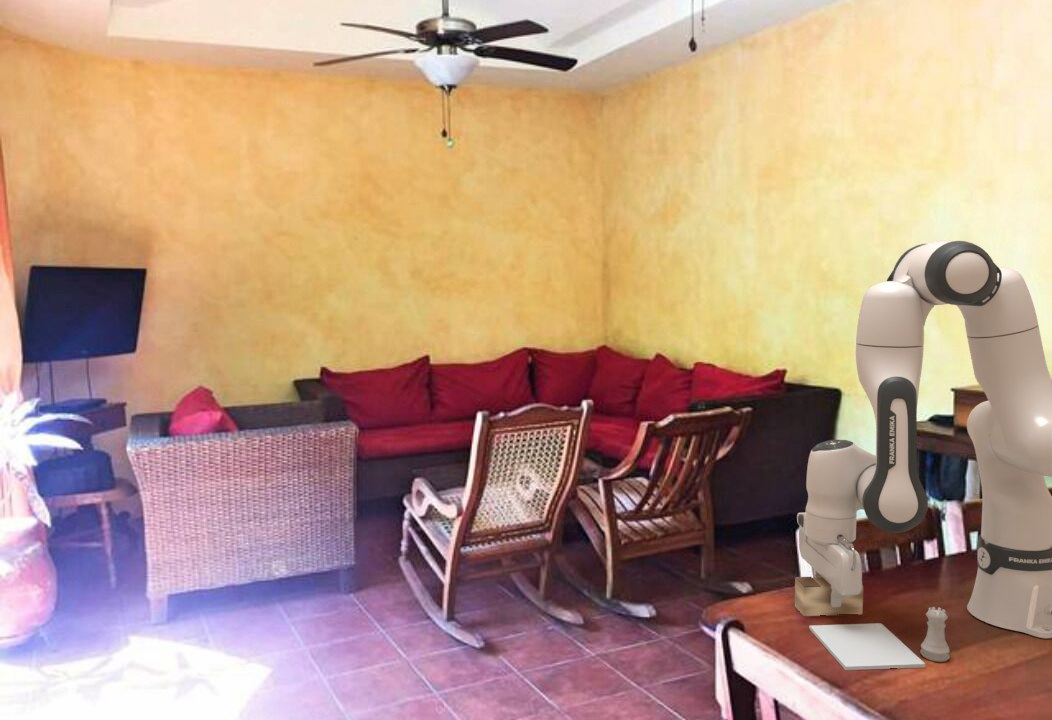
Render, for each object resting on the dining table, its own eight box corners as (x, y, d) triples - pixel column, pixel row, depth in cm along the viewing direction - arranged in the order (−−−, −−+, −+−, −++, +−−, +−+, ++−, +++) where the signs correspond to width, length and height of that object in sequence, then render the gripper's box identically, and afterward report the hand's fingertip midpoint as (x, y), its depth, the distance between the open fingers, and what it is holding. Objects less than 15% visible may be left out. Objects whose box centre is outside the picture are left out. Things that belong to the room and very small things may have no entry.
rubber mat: (880, 626, 146) (881, 623, 146) (925, 667, 131) (925, 663, 131) (809, 628, 146) (809, 625, 146) (845, 670, 131) (845, 666, 131)
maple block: (851, 604, 156) (852, 575, 155) (862, 614, 151) (863, 584, 151) (794, 606, 155) (795, 577, 155) (803, 616, 151) (804, 586, 150)
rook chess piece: (953, 664, 132) (956, 616, 131) (923, 661, 133) (926, 614, 132) (945, 651, 137) (947, 605, 136) (916, 649, 138) (918, 603, 137)
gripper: (873, 546, 141) (870, 622, 143) (825, 510, 162) (823, 578, 163) (837, 547, 141) (834, 623, 143) (793, 511, 161) (791, 579, 163)
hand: (828, 599), depth 153 cm, fingers closed on maple block, 4 cm apart
